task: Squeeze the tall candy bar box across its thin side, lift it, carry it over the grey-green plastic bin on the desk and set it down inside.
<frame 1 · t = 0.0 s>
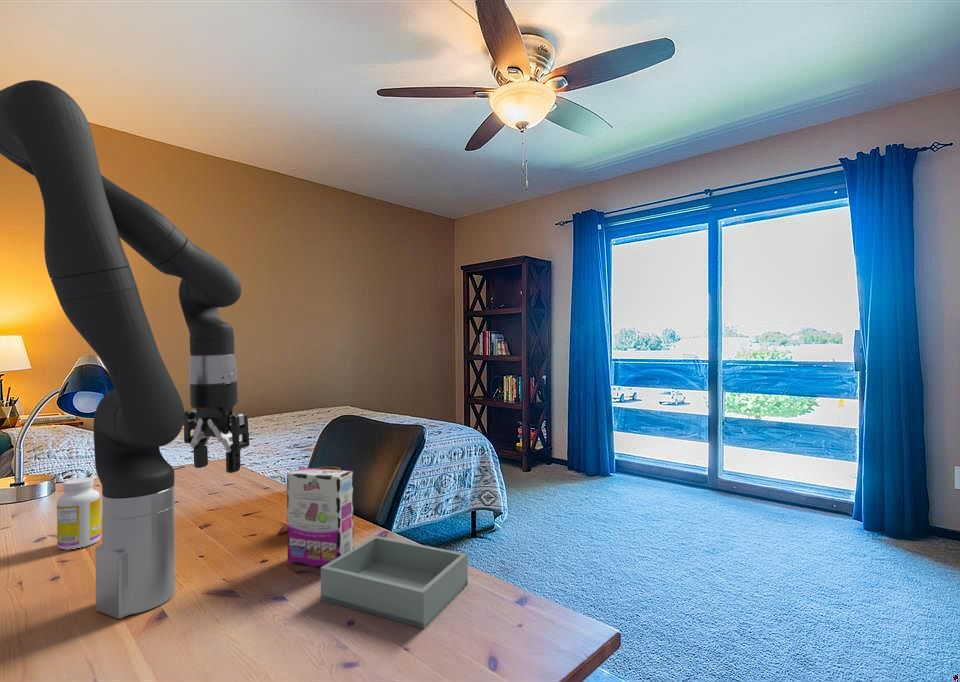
hand: (217, 469, 87), 17 cm above the table, tool pointing down, fingers open, 8 cm apart
bin: (396, 591, 77), on the table
supplement bottle: (79, 545, 97), on the table
beverage can: (325, 526, 106), on the table
candy bar box: (320, 562, 88), on the table
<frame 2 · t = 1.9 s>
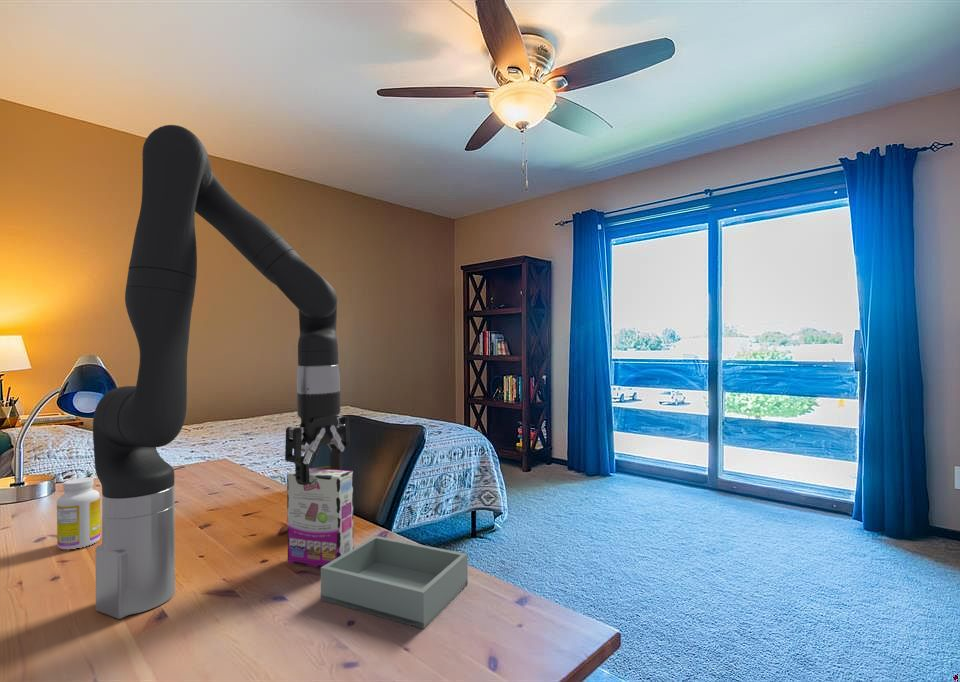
hand: (320, 477, 89), 15 cm above the table, tool pointing down, fingers open, 8 cm apart
nothing on the table moved.
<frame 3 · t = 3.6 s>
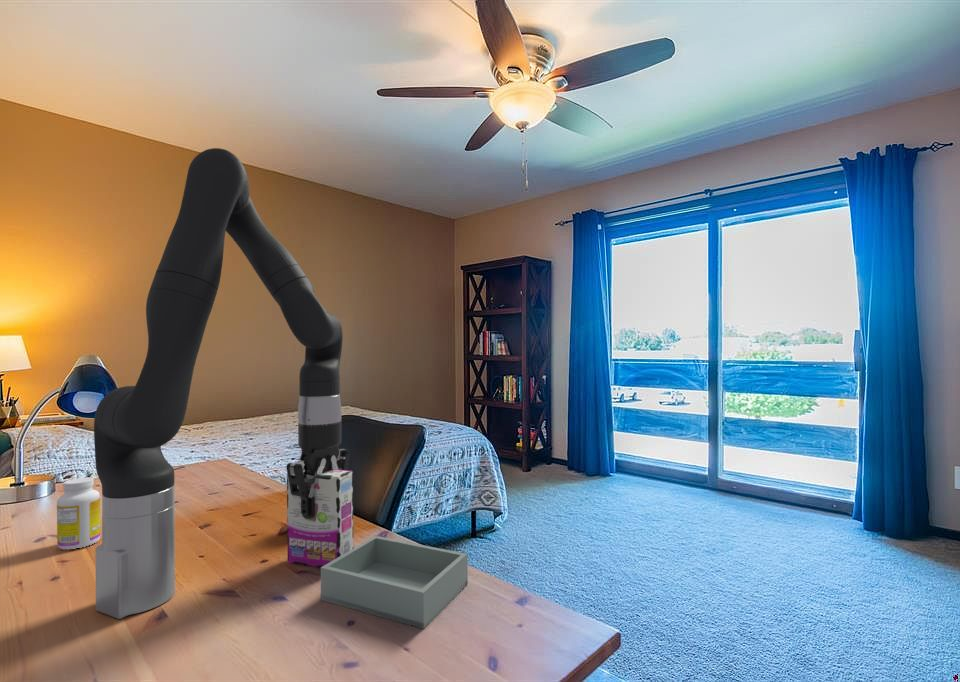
hand: (320, 511, 88), 9 cm above the table, tool pointing down, fingers closed on candy bar box, 5 cm apart
candy bar box: (320, 562, 88), on the table, touching gripper
everything else where it was.
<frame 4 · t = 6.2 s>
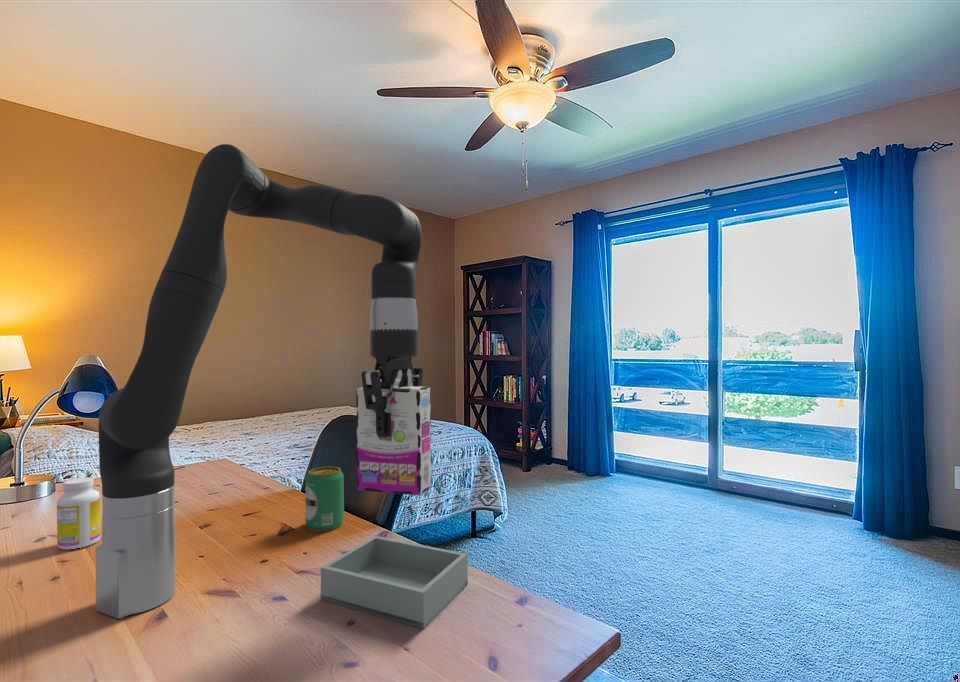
hand: (394, 433, 78), 25 cm above the table, tool pointing down, fingers closed on candy bar box, 5 cm apart
candy bar box: (394, 490, 78), point 16 cm above the table, touching gripper
everything else where it was.
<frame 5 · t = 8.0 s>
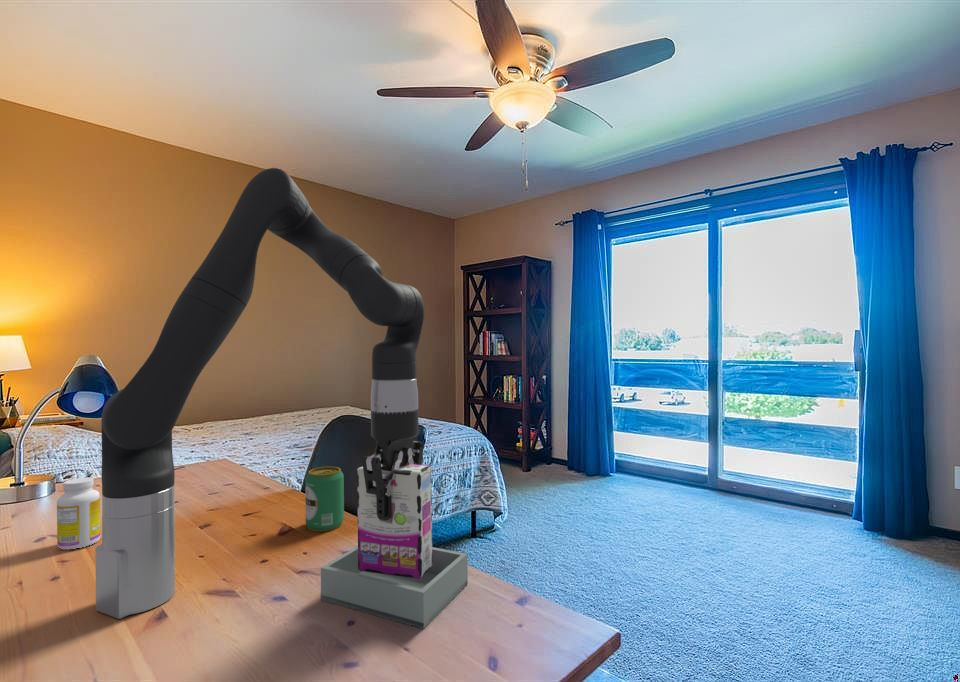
hand: (395, 512, 77), 13 cm above the table, tool pointing down, fingers closed on candy bar box, 5 cm apart
candy bar box: (395, 569, 77), point 3 cm above the table, touching gripper
everything else where it was.
when the fingers open (11 cm above the table, at t = 9.1 s): candy bar box drops 2 cm, resting on bin.
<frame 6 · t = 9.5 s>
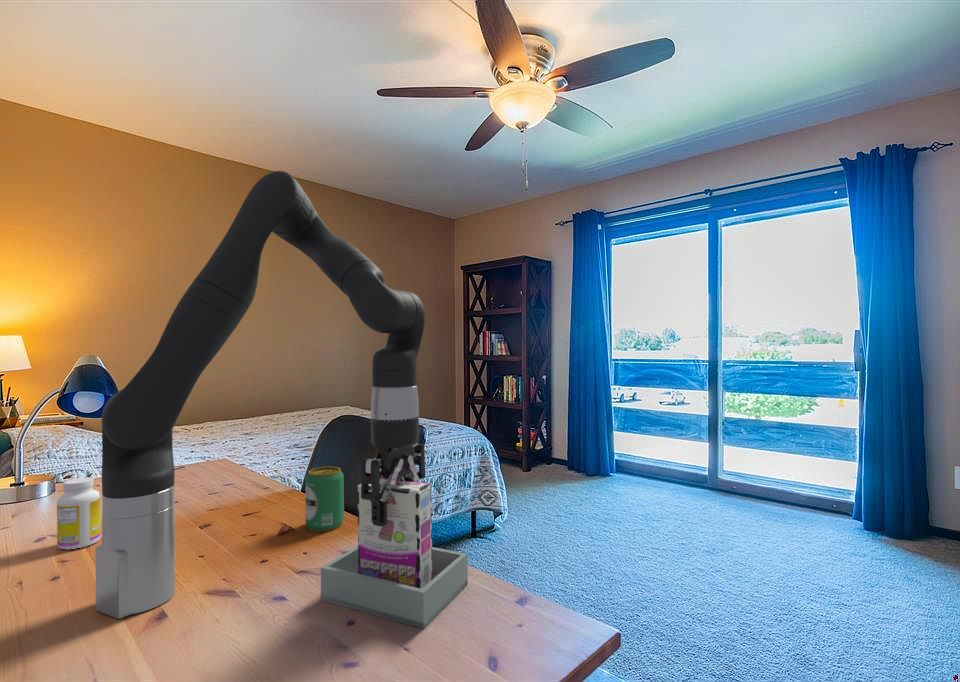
hand: (395, 516, 77), 12 cm above the table, tool pointing down, fingers open, 8 cm apart
candy bar box: (395, 587, 77), point 1 cm above the table, touching bin
everything else where it was.
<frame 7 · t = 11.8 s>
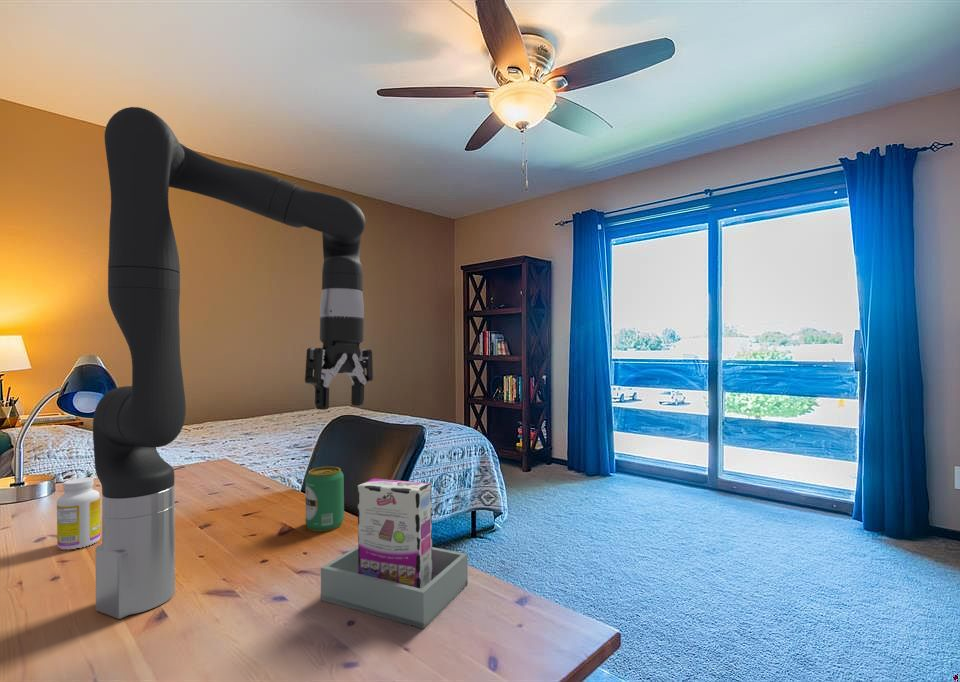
hand: (340, 407, 86), 28 cm above the table, tool pointing down, fingers open, 8 cm apart
nothing on the table moved.
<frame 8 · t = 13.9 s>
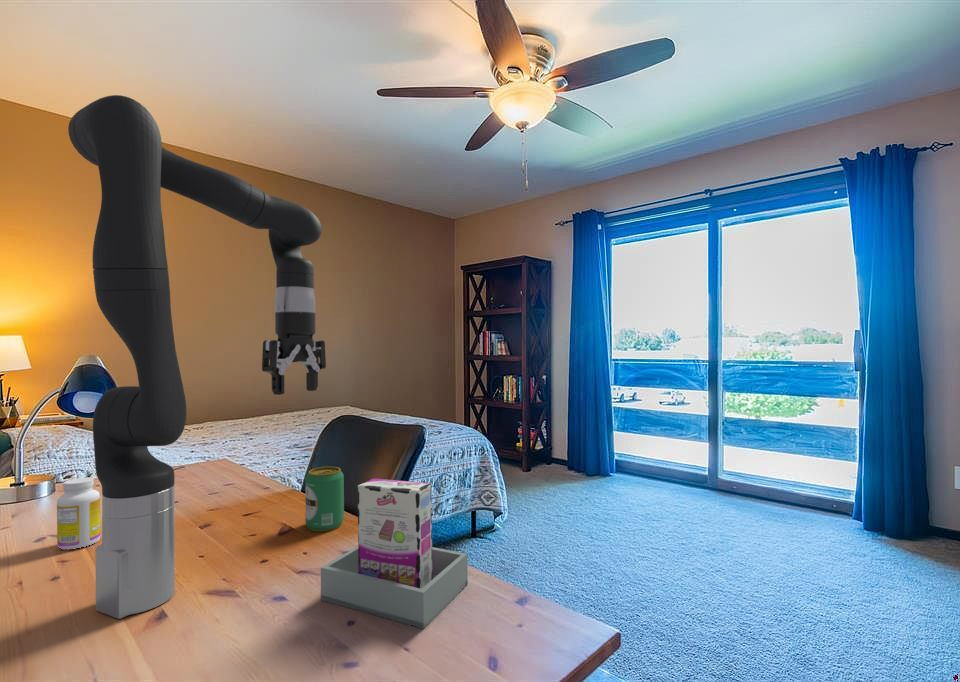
hand: (296, 392, 96), 30 cm above the table, tool pointing down, fingers open, 8 cm apart
nothing on the table moved.
at the end: candy bar box inside the target area on the bin (0.2 cm from its centre), point 0.6 cm above the bin's base; the gripper is holding nothing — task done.
